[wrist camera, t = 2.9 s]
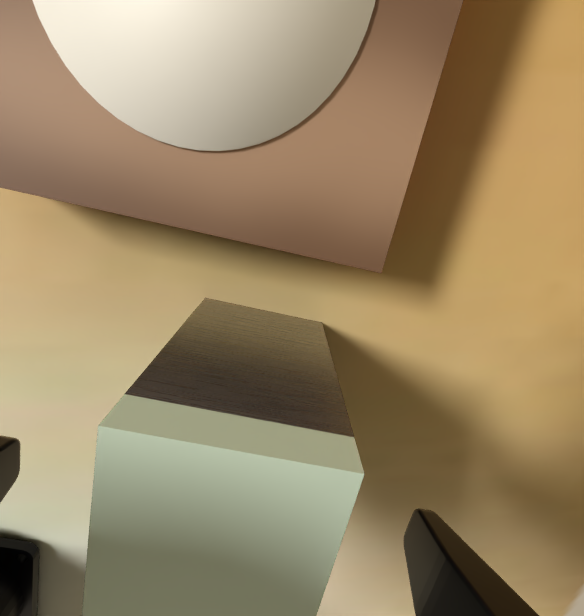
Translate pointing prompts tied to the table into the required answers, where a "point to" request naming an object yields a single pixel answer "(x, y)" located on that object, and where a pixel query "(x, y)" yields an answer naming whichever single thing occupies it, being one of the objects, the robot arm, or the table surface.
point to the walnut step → (225, 113)
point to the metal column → (223, 474)
